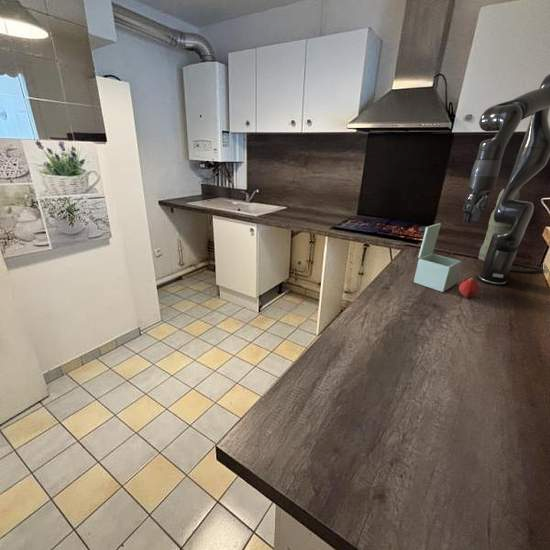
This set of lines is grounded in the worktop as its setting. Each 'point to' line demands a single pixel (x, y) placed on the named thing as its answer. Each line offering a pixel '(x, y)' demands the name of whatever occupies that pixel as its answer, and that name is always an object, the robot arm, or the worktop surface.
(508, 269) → the robot arm
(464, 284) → the onion
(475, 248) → the worktop surface
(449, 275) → the light blue lidded box
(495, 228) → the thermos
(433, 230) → the lid
